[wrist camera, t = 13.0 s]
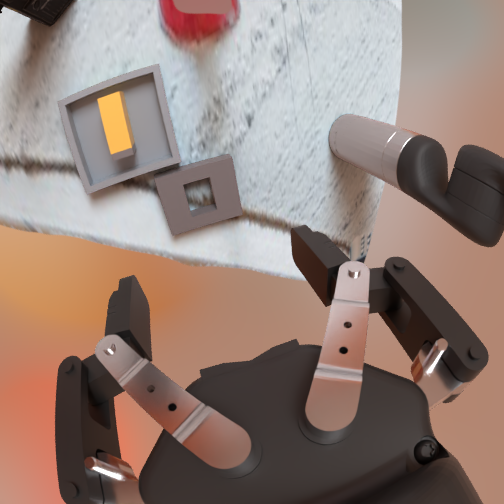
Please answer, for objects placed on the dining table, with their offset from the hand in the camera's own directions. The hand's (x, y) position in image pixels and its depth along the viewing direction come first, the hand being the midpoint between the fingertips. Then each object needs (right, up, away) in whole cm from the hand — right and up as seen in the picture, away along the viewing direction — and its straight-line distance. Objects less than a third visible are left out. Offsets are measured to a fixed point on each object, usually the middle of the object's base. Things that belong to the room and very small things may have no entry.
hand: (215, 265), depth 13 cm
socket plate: (-7, +10, +30) cm, 33 cm away
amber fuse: (-17, +21, +15) cm, 31 cm away
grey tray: (-17, +19, +20) cm, 33 cm away
